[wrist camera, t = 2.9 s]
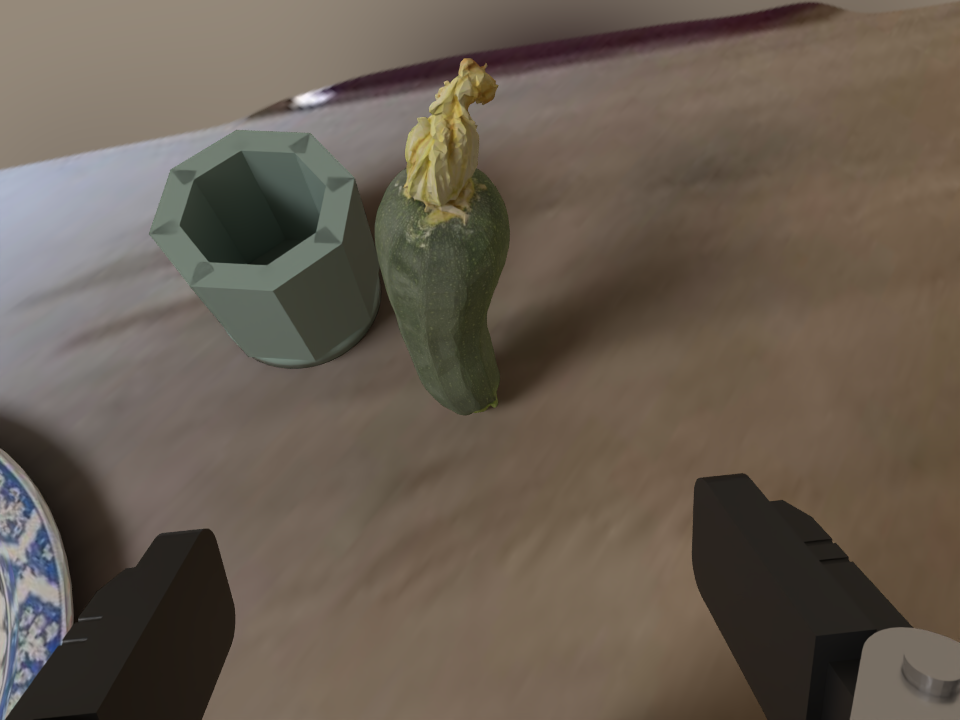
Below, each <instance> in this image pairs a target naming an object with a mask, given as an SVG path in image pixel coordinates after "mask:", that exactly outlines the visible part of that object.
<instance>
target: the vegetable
mask: <svg viewBox="0 0 960 720" xmlns="http://www.w3.org/2000/svg"><path fill="white" fill-rule="evenodd" d="M486 67H487V63H486V64H485V65H484V66H482V67H480V66H479V65H478V64H477V63H476V62H475V61H474V60H472V59H465V58H464V59H463V60H462V62H461V64H460V69H459V76H457V77H456V78H455V79H453V80H452V82H451V83H450V82H449V81H445V82H444V84H445V86H444V87H442V88H440V89H439V92H438V94H436V95H435V98H436V101H435V102H433V103H432V104H431V106H430V107H429V112H430V113H431V114H433V115H431V116H430V117H429V118H426V117H421V118H417V119H418V124H417V125H416V126H415V127H414V128H412V131H411V132H409V135H408V139H407V143H406V149H405V157H406V161H407V168H405V169H404V170H402V171H401V172H400V173H398V175H397V176H396V177H395V178H394V179H393V180H392V182H391V183H390V184H389V186H388V188H387V189H386V191H385V194H384V196H383V198H382V201H381V203H380V206H379V208H378V210H377V216H376V221H375V245H376V251H377V256H378V261H379V265H380V268H381V272H382V276H383V280H384V284H385V287H386V291H387V294H388V297H389V300H390V303H391V305H392V307H393V309H394V311H395V314H396V318H397V322H398V326H399V329H400V332H401V335H402V337H403V339H404V342H405V344H406V346H407V348H408V351H409V353H410V356H411V358H412V361H413V363H414V366H415V368H416V371H417V373H418V376H419V378H420V380H421V382H422V384H423V385H424V387H425V389H426V390H427V391H428V392H429V393H430V394H431V395H432V396H433V397H434V398H435V399H436V400H437V401H438V402H439V403H440V404H441V405H443V406H444V407H446V408H448V409H450V410H452V411H454V412H455V413H457V414H460V415H469V414H471V413H473V412H474V413H477V412H484V411H485V410H487V409H488V407H489V406H490V405H491V406H492V407H494V408H495V407H496V406H497V405H498V400H497V394H496V391H497V389H498V386H499V382H500V372H499V370H498V367H497V364H496V359H495V354H494V350H493V346H492V342H491V338H490V334H489V331H488V328H487V311H488V308H489V305H490V302H491V299H492V296H493V292H494V290H495V288H496V286H497V283H498V280H499V277H500V274H501V272H502V270H503V267H504V265H505V261H506V257H507V252H508V248H509V239H510V230H509V221H508V214H507V211H506V207H505V204H504V201H503V200H502V198H501V196H500V194H499V192H498V190H497V188H496V187H495V186H494V184H493V183H492V182H491V180H490V179H489V178H488V177H487V176H486V175H485V174H484V173H483V172H481V171H480V170H478V169H477V168H476V167H477V165H478V162H477V158H478V150H479V135H478V133H477V132H476V128H477V125H475V122H474V121H473V120H472V119H471V117H470V114H469V112H468V107H469V105H470V104H471V103H474V102H475V101H476V103H477V104H478V103H482V105H484V104H486V103H488V102H489V101H491V100H493V99H494V97H495V92H496V89H497V88H498V85H497V84H496V81H495V80H494V79H493V78H492V77H491V76H490V75H488V74H487V73H486V72H485V68H486Z"/></svg>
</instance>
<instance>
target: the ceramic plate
mask: <svg viewBox="0 0 960 720" xmlns="http://www.w3.org/2000/svg"><path fill="white" fill-rule="evenodd" d="M73 618H74V614H73V598H72V584H71V578H70V573H69V567H68V561H67V556H66V553H65V549H64V546H63V542H62V539H61V535H60V532H59V530H58V527H57V525H56V523H55V520H54V518H53V515H52V513H51V511H50V509H49V507H48V505H47V503H46V502H45V500H44V498H43V496H42V495H41V493H40V491H39V489H38V488H37V487H36V485H35V484H34V483H33V481H32V480H31V479H30V477H29V476H28V475H27V474H26V472H25V471H24V470H23V469H22V468H21V467H20V466H19V465H18V464H17V463H16V462H15V461H14V460H13V459H12V458H11V457H10V456H9V455H8V454H7V453H6V452H5V451H3V450H2V449H1V448H0V720H5V719H6V717H7V716H8V714H9V713H10V712H11V710H12V709H13V708H14V706H15V705H16V703H17V702H18V701H19V699H20V698H21V696H22V695H23V694H24V692H25V691H26V689H27V688H28V687H29V685H30V684H31V683H32V681H33V680H34V678H35V677H36V676H37V674H38V673H39V671H40V670H41V669H42V667H43V666H44V665H45V663H46V662H47V660H48V659H49V658H50V656H51V655H52V653H53V652H54V651H55V649H56V648H57V646H60V645H62V642H63V641H62V640H63V638H64V637H65V635H66V634H67V633H68V631H69V630H70V628H71V627H72V626H73Z"/></svg>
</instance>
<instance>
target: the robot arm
mask: <svg viewBox="0 0 960 720" xmlns="http://www.w3.org/2000/svg"><path fill="white" fill-rule="evenodd" d="M692 564H693V570H694V575H695V580H696V583H697V586H698V589H699V592H700V594H701V596H702V598H703V600H704V602H705V603H706V605H707V607H708V609H709V611H710V613H711V615H712V616H713V618H714V620H715V622H716V624H717V626H718V628H719V630H720V631H721V633H722V635H723V637H724V639H725V641H726V643H727V644H728V646H729V648H730V650H731V652H732V654H733V656H734V658H735V659H736V661H737V663H738V665H739V667H740V669H741V671H742V672H743V674H744V676H745V678H746V680H747V682H748V684H749V686H750V687H751V689H752V691H753V693H754V695H755V697H756V699H757V700H758V702H759V704H760V706H761V708H762V710H763V712H764V714H765V715H766V717H767V719H768V720H960V643H959V642H957V641H955V640H952V639H950V638H948V637H946V636H943V635H940V634H937V633H934V632H930V631H926V630H922V629H916V628H913V627H912V626H911V625H910V624H909V623H908V622H907V620H906V619H905V618H904V617H903V616H902V615H901V614H900V613H899V612H898V611H897V610H896V608H895V607H894V606H893V605H892V604H891V603H890V602H889V601H888V600H887V599H886V597H885V596H884V595H883V594H882V593H881V592H880V591H879V590H878V589H877V588H876V587H875V585H874V584H873V583H872V582H871V581H870V580H869V579H868V578H867V577H866V576H865V575H864V573H863V572H862V571H861V570H860V569H859V568H858V567H857V566H856V565H855V564H854V562H850V561H849V559H848V556H847V555H846V554H845V553H844V552H843V550H842V549H841V548H840V547H839V546H838V545H837V544H836V543H833V542H832V538H831V537H830V536H829V535H828V534H827V533H826V532H825V531H824V530H823V529H822V527H821V526H820V525H819V524H818V523H817V522H816V521H815V520H814V519H813V518H812V517H811V516H809V515H808V514H806V513H804V512H802V511H801V510H799V509H797V508H795V507H794V506H792V505H790V504H789V503H787V502H785V501H783V500H779V501H769V500H768V499H767V498H766V497H765V495H764V494H763V493H762V492H761V491H760V490H759V488H758V487H757V486H756V485H755V484H754V482H753V481H752V480H751V479H750V478H749V477H748V476H747V475H746V474H743V473H741V474H732V475H722V476H713V477H703V478H698V479H697V481H696V483H695V487H694V506H693V537H692ZM234 631H235V608H234V602H233V598H232V595H231V591H230V588H229V584H228V580H227V577H226V573H225V569H224V566H223V562H222V558H221V555H220V551H219V548H218V544H217V541H216V538H215V535H214V534H213V532H212V531H211V530H210V529H197V530H188V531H178V532H169V533H161V534H159V535H158V536H157V537H156V538H155V539H154V541H153V542H152V544H151V545H150V547H149V548H148V550H147V551H146V552H145V554H144V555H143V557H142V558H141V560H140V561H139V563H138V564H137V566H136V567H134V568H126V569H125V570H123V571H122V572H121V573H120V574H118V575H117V576H116V577H115V578H113V579H112V580H111V581H110V582H108V583H107V584H106V585H105V586H104V587H102V588H101V589H100V590H99V591H97V592H96V594H95V595H94V597H93V598H92V599H91V601H90V602H89V603H88V605H87V606H86V608H85V609H84V610H83V612H82V613H81V615H80V616H79V617H78V623H74V624H73V626H72V627H71V628H70V630H69V631H68V633H67V634H66V635H65V637H64V638H63V640H62V641H63V642H62V645H60V646H57V648H56V649H55V651H54V652H53V653H52V655H51V656H50V658H49V659H48V660H47V662H46V663H45V665H44V666H43V667H42V669H41V670H40V671H39V673H38V674H37V676H36V677H35V678H34V680H33V681H32V683H31V684H30V685H29V687H28V688H27V689H26V691H25V692H24V694H23V695H22V696H21V698H20V699H19V701H18V702H17V703H16V705H15V706H14V708H13V709H12V710H11V712H10V713H9V714H8V716H7V717H6V719H5V720H202V718H203V715H204V713H205V710H206V708H207V705H208V702H209V700H210V697H211V695H212V692H213V690H214V687H215V685H216V682H217V680H218V677H219V675H220V672H221V670H222V667H223V665H224V662H225V660H226V657H227V655H228V652H229V650H230V647H231V644H232V641H233V637H234Z"/></svg>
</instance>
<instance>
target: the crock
mask: <svg viewBox="0 0 960 720" xmlns="http://www.w3.org/2000/svg"><path fill="white" fill-rule="evenodd" d="M149 235H150V236H151V237H152V238H153V240H154V241H155V242H156V243H157V245H158V246H159V247H160V248H161V250H162V251H163V252H164V254H165V255H166V256H167V257H168V259H169V260H170V261H171V263H172V264H173V265H174V266H175V268H176V269H177V270H178V272H179V273H180V274H181V275H182V277H183V278H184V279H185V280H186V282H187V283H188V284H189V286H190V287H191V288H192V290H193V291H194V292H195V293H196V294H197V296H198V297H199V298H200V299H201V300H202V302H203V303H204V304H205V305H206V306H207V308H208V309H209V310H210V311H211V312H212V314H213V315H214V316H215V317H216V318H217V320H218V321H219V322H220V323H221V324H222V326H223V327H224V328H225V330H226V331H227V333H228V334H229V336H230V337H231V338H232V339H233V341H234V342H235V343H236V344H237V345H238V346H239V347H240V348H241V350H243V351H244V352H245V353H246V355H247V356H248V357H252V358H254V359H255V360H257V361H259V362H262V363H264V364H267V365H270V366H274V367H279V368H287V369H299V368H307V367H312V366H316V365H320V364H323V363H326V362H329V361H331V360H333V359H335V358H337V357H339V356H341V355H342V354H344V353H345V352H347V351H348V350H350V349H351V348H352V347H353V346H354V345H356V344H357V343H358V342H359V341H360V340H361V339H362V338H363V336H364V335H365V334H366V333H367V331H368V330H369V328H370V327H371V325H372V323H373V322H374V320H375V317H376V315H377V312H378V309H379V305H380V301H381V283H380V278H379V267H380V265H379V261H378V256H377V251H376V248H375V245H374V241H373V238H372V235H371V231H370V228H369V224H368V221H367V218H366V214H365V211H364V208H363V204H362V201H361V198H360V194H359V191H358V188H357V184H356V181H355V178H354V177H353V176H352V175H351V174H350V173H349V172H348V171H347V170H346V169H345V168H344V167H343V166H342V165H341V164H340V163H339V162H338V161H337V160H336V159H335V158H334V157H333V156H332V155H331V154H330V153H329V152H328V151H327V150H326V149H325V148H324V147H323V146H322V145H321V144H320V143H319V142H318V141H317V140H316V138H315V137H314V136H313V135H312V134H311V133H297V132H273V131H249V130H236V131H234V132H232V133H231V134H229V135H227V136H226V137H224V138H222V139H221V140H219V141H217V142H216V143H214V144H212V145H211V146H209V147H207V148H206V149H204V150H202V151H201V152H199V153H197V154H196V155H194V156H192V157H191V158H189V159H187V160H186V161H184V162H182V163H181V164H179V165H177V166H176V167H174V168H172V169H171V170H170V173H169V176H168V179H167V182H166V185H165V188H164V191H163V194H162V197H161V200H160V203H159V206H158V209H157V212H156V215H155V217H154V220H153V223H152V226H151V229H150V232H149Z"/></svg>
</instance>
